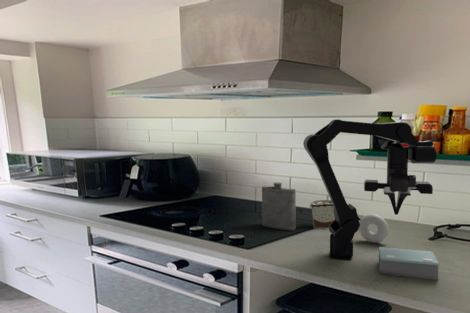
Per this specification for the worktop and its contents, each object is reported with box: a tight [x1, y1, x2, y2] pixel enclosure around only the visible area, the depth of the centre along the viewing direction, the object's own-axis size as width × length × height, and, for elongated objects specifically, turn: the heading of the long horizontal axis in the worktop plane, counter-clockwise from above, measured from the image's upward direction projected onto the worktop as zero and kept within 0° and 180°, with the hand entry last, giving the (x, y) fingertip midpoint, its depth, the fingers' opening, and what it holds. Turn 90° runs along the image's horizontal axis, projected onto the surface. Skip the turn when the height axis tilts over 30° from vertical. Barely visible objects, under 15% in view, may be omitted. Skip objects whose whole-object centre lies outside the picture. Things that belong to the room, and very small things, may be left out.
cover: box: [378, 246, 440, 267], centre depth 102 cm, size 14×9×1 cm
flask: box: [261, 181, 297, 231], centre depth 145 cm, size 4×14×18 cm, turn 57°
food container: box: [309, 199, 335, 229], centre depth 147 cm, size 12×6×10 cm, turn 92°
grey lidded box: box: [378, 251, 439, 281], centre depth 103 cm, size 14×9×4 cm, turn 72°
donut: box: [358, 213, 390, 244], centre depth 126 cm, size 10×4×10 cm, turn 54°
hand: (396, 214), depth 113 cm, fingers closed
